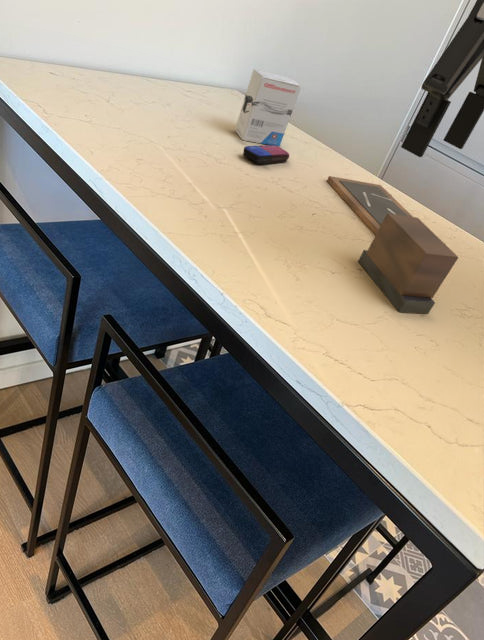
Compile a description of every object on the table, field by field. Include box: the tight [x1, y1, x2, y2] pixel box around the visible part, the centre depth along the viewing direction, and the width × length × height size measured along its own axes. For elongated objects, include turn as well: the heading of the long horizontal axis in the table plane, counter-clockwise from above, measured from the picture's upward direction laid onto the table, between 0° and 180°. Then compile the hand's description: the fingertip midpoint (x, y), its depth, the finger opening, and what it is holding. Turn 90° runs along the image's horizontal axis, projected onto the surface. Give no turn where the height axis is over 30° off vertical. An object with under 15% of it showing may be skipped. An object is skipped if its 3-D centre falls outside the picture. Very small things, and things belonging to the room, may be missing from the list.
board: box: [326, 175, 414, 236], centre depth 101 cm, size 22×12×1 cm, turn 17°
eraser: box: [242, 144, 290, 165], centre depth 104 cm, size 11×4×2 cm, turn 136°
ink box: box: [234, 68, 302, 147], centre depth 109 cm, size 8×5×12 cm, turn 108°
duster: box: [357, 213, 459, 315], centre depth 78 cm, size 12×5×8 cm, turn 17°
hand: (433, 148), depth 73 cm, fingers open, 13 cm apart
